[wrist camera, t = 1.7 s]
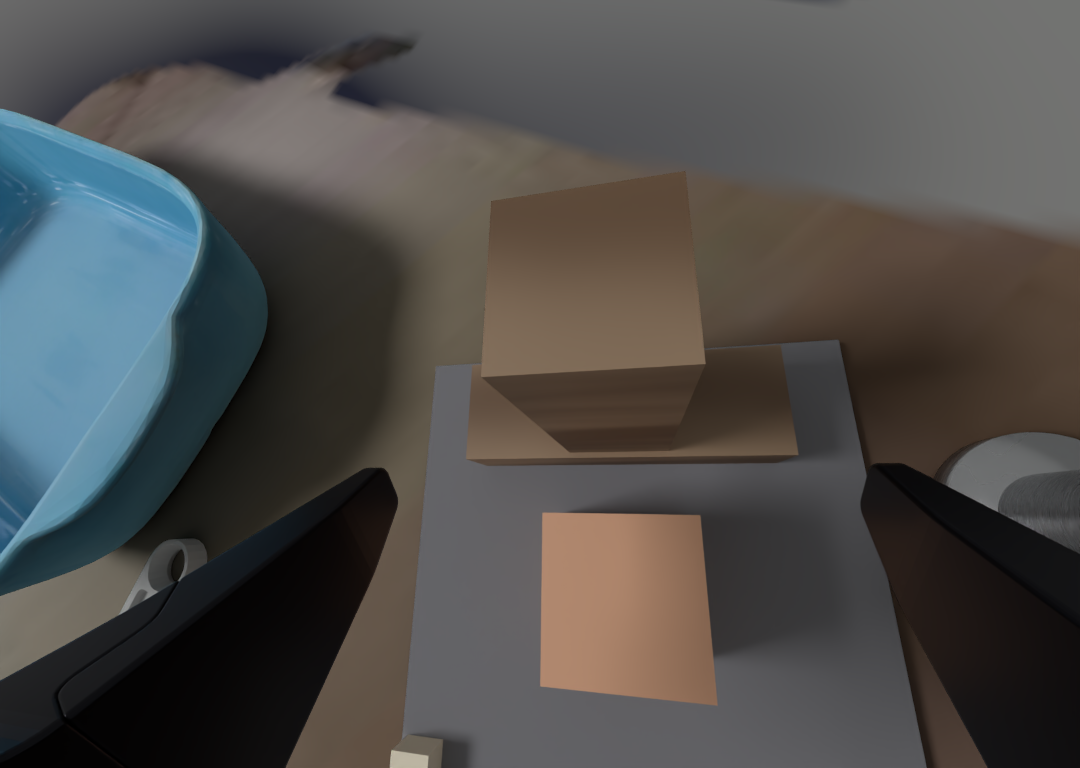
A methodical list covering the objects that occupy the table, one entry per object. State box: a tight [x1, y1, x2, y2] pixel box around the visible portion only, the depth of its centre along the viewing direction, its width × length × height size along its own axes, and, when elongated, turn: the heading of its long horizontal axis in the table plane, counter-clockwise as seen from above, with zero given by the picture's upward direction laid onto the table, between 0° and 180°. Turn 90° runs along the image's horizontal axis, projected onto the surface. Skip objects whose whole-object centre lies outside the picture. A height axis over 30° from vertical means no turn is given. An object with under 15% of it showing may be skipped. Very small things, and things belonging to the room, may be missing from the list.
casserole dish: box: [0, 109, 268, 596], centre depth 25 cm, size 37×22×7 cm, turn 63°
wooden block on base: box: [466, 171, 799, 466], centre depth 13 cm, size 4×12×12 cm, turn 89°
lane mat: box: [390, 340, 927, 768], centre depth 15 cm, size 25×18×2 cm
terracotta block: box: [540, 513, 718, 706], centre depth 15 cm, size 5×5×4 cm
